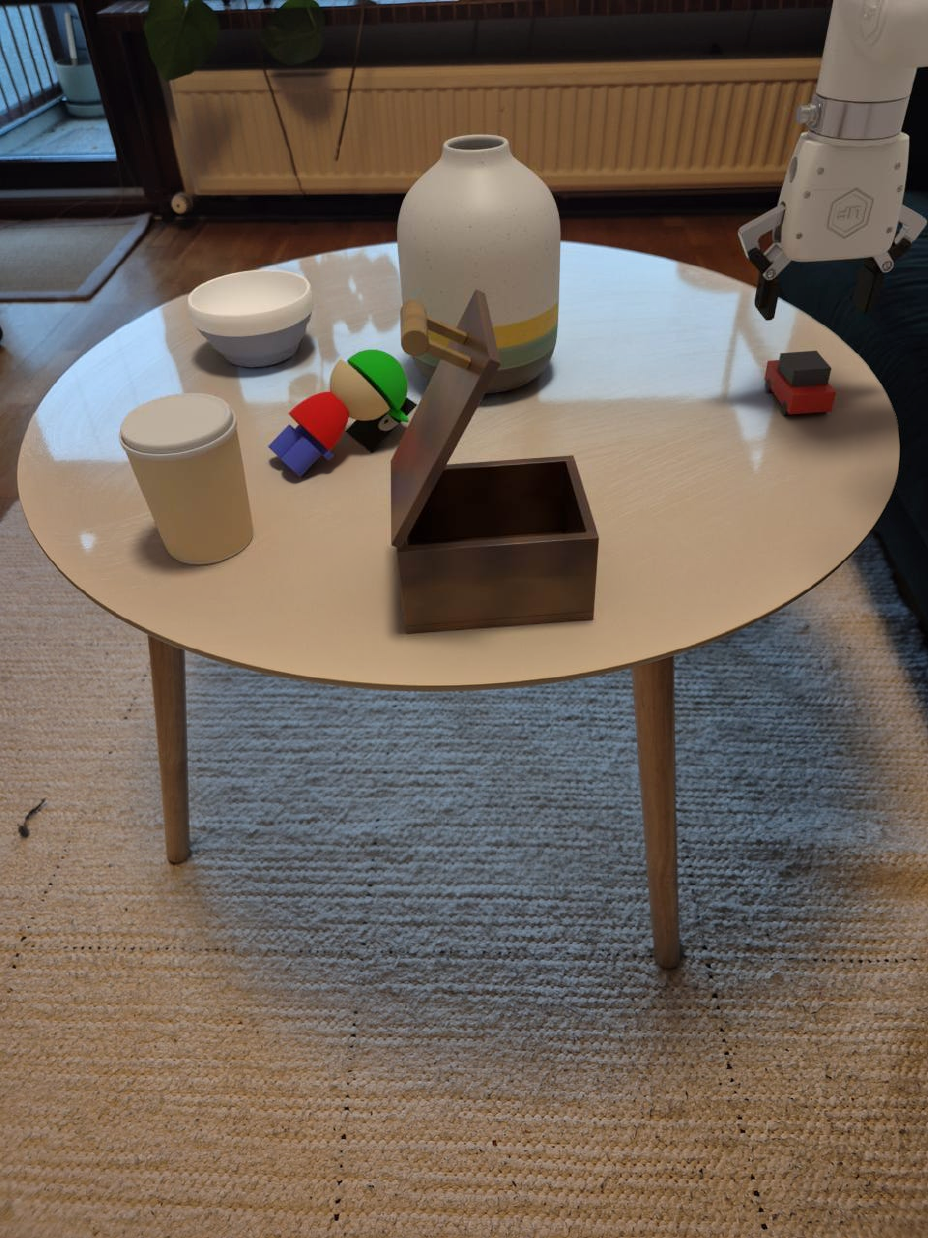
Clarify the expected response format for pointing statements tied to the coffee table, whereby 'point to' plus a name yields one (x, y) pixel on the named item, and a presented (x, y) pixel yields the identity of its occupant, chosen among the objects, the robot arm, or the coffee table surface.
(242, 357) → the bowl
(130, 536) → the coffee table surface
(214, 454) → the coffee cup
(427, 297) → the vase
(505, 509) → the chest
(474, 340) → the lid
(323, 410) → the toy
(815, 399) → the car
